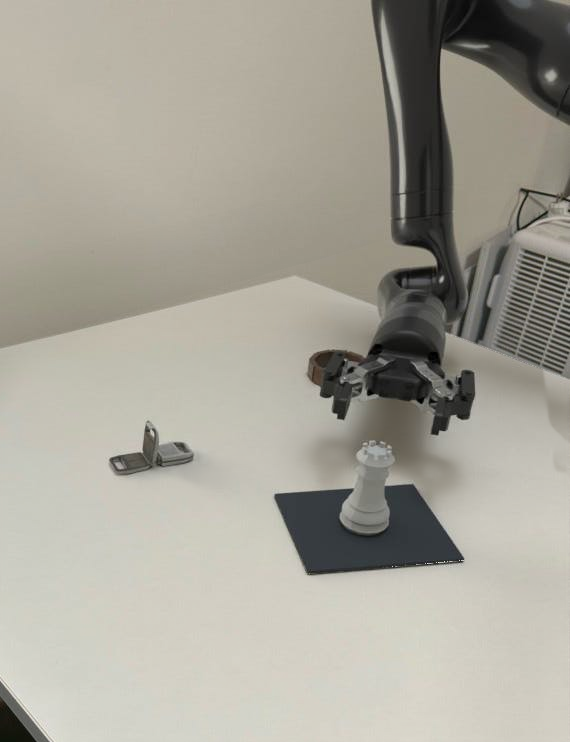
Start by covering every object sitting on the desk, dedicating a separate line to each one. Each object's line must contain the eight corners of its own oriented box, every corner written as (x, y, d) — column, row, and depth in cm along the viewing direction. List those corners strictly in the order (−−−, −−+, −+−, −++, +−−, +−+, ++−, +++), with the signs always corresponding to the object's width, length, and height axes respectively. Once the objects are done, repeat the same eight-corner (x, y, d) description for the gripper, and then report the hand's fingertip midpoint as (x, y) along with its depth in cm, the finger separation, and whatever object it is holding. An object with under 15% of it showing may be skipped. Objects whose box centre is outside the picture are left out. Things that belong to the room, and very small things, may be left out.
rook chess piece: (368, 544, 73) (383, 467, 68) (328, 522, 76) (340, 446, 71) (398, 524, 76) (414, 448, 71) (358, 503, 78) (371, 429, 73)
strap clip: (184, 447, 87) (185, 411, 85) (195, 461, 85) (196, 424, 82) (107, 461, 85) (106, 425, 82) (116, 476, 83) (115, 439, 80)
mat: (412, 487, 81) (413, 483, 81) (463, 562, 72) (464, 558, 72) (274, 496, 80) (274, 493, 80) (307, 574, 70) (308, 571, 70)
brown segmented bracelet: (355, 362, 104) (357, 347, 103) (374, 388, 99) (376, 372, 97) (301, 365, 104) (303, 350, 102) (317, 391, 98) (319, 375, 97)
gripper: (344, 306, 87) (315, 369, 75) (485, 324, 83) (479, 393, 71) (335, 372, 92) (306, 441, 79) (469, 391, 88) (460, 467, 76)
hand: (388, 418), depth 75 cm, fingers open, 8 cm apart
